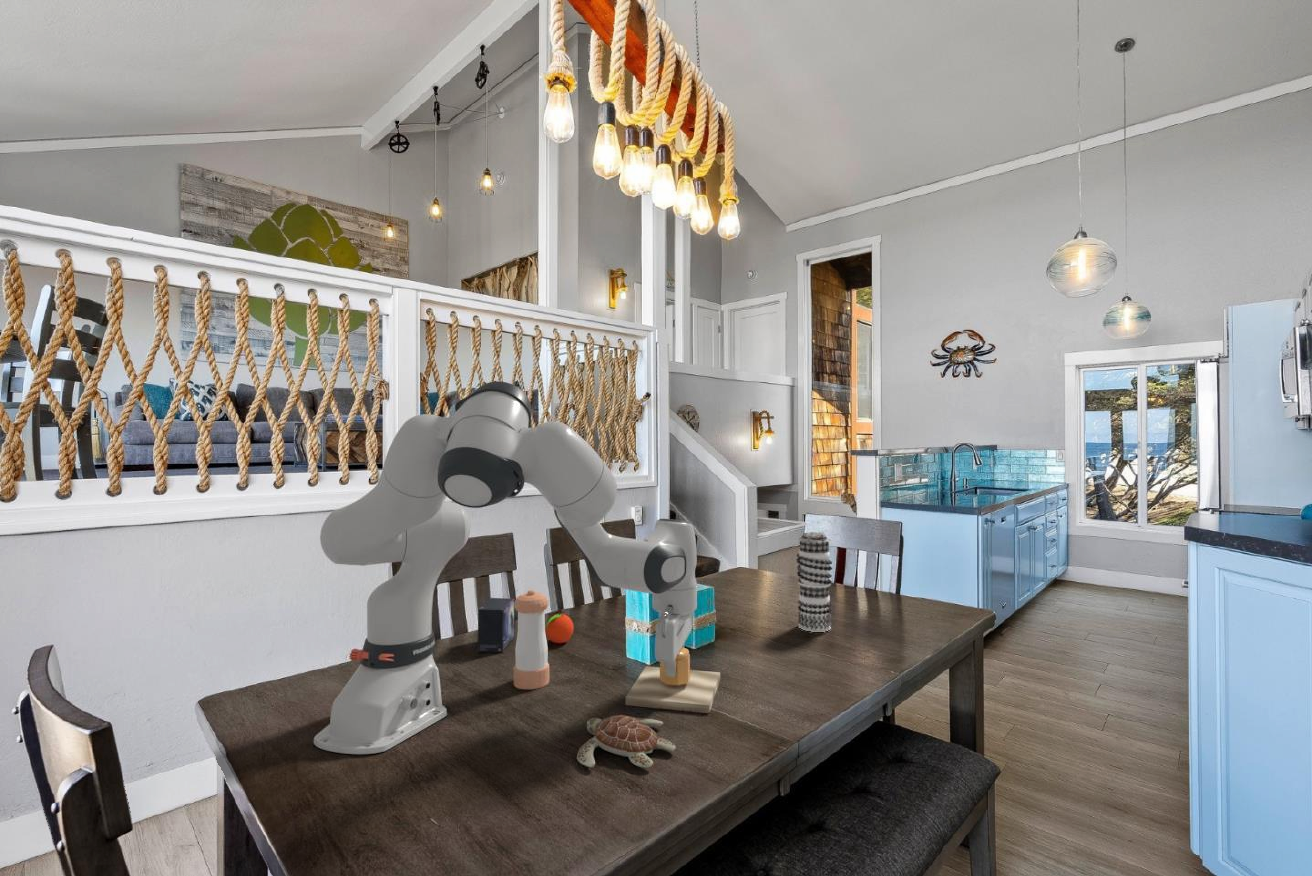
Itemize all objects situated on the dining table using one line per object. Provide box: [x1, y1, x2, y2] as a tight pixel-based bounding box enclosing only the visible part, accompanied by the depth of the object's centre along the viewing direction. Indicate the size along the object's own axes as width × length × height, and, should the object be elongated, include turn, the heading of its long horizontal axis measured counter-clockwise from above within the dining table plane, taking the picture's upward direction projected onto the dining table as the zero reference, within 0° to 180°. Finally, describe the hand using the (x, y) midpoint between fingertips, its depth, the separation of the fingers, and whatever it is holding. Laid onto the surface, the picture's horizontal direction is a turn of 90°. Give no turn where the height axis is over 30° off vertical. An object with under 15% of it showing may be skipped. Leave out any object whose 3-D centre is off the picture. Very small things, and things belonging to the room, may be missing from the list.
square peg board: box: [624, 665, 721, 714], centre depth 122 cm, size 16×16×6 cm
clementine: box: [545, 613, 575, 644], centre depth 151 cm, size 8×7×7 cm
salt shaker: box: [513, 589, 550, 690], centre depth 127 cm, size 7×7×19 cm
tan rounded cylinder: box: [659, 647, 691, 685], centre depth 122 cm, size 6×6×6 cm
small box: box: [477, 597, 515, 654], centre depth 149 cm, size 11×6×10 cm, turn 179°
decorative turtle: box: [576, 714, 676, 768], centre depth 100 cm, size 18×17×5 cm
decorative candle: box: [796, 531, 833, 633], centre depth 162 cm, size 9×9×25 cm
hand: (674, 668), depth 122 cm, fingers closed on tan rounded cylinder, 5 cm apart
